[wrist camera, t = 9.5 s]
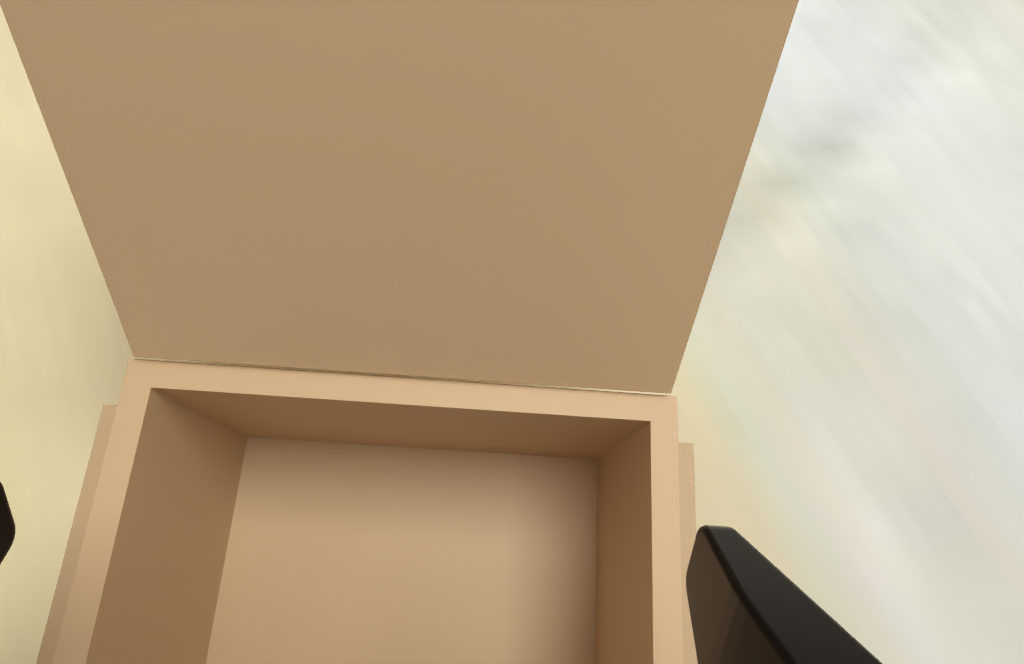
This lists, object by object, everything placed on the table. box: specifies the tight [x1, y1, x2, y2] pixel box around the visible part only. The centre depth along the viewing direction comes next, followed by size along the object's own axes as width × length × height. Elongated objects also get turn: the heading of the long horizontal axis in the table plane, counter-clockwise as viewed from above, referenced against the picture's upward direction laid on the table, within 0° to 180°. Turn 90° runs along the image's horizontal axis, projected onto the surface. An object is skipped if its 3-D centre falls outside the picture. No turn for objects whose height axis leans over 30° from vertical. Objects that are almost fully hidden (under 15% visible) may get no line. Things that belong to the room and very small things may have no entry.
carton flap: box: [0, 0, 799, 394], centre depth 10 cm, size 14×12×1 cm
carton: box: [37, 359, 698, 664], centre depth 16 cm, size 12×13×7 cm
